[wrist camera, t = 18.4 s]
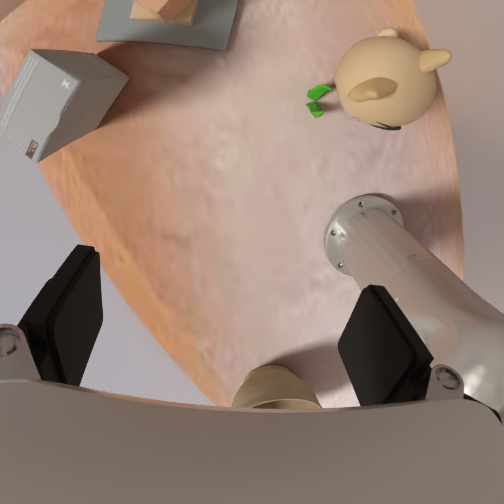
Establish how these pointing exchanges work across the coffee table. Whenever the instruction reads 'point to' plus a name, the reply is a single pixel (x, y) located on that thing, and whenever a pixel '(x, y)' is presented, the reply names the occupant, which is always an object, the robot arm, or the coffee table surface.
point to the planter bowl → (275, 390)
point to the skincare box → (57, 100)
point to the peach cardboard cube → (162, 8)
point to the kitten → (384, 81)
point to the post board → (177, 31)
